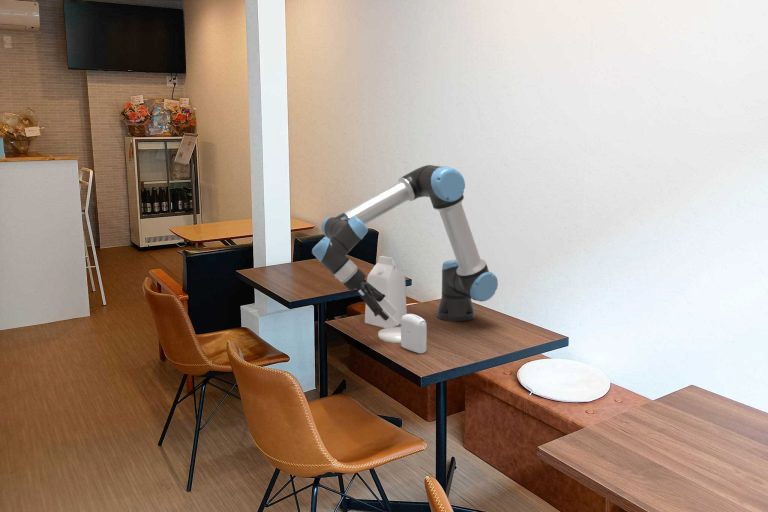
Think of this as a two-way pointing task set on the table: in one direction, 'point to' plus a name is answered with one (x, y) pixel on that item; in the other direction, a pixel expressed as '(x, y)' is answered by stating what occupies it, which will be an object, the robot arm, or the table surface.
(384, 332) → the white plate
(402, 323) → the photo printer
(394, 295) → the milk
